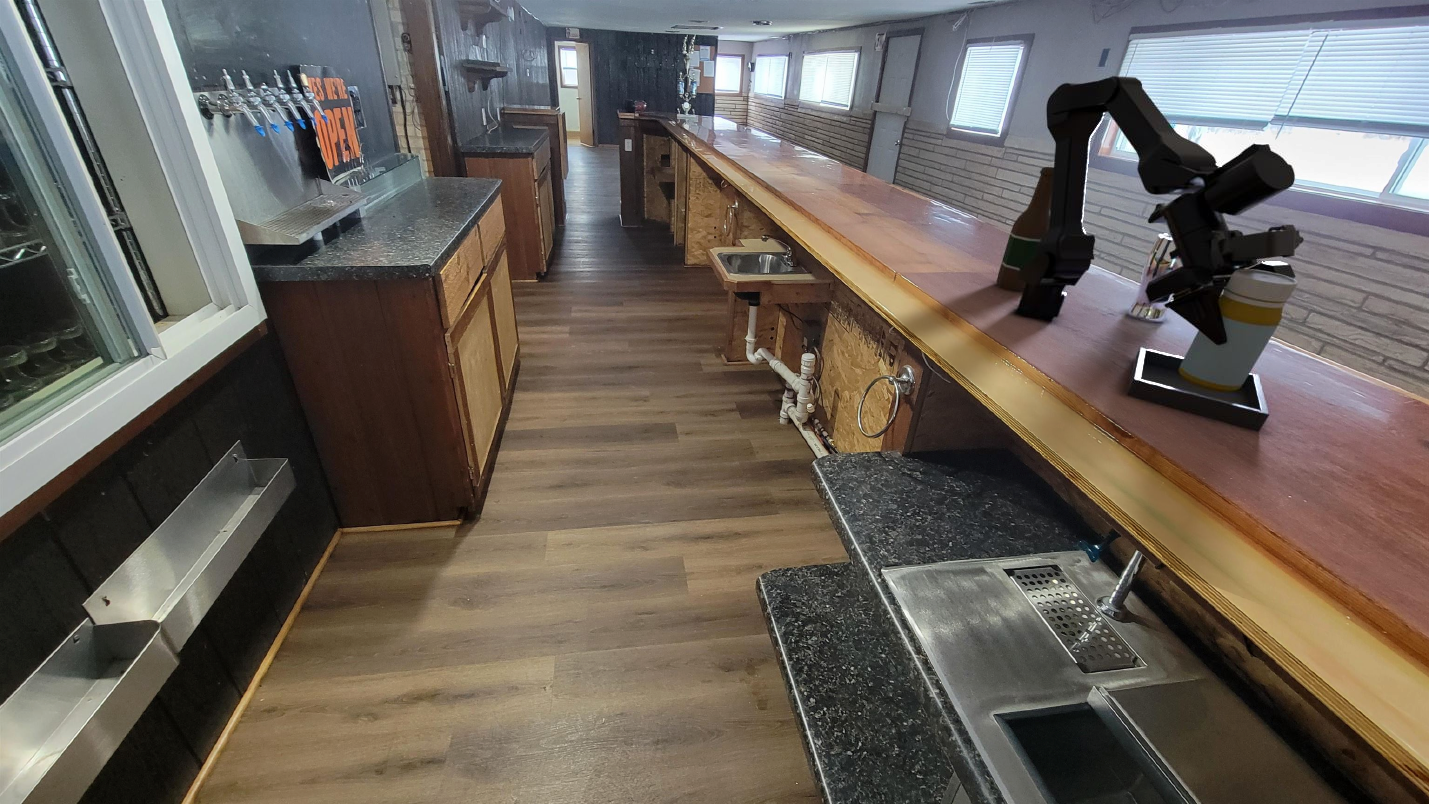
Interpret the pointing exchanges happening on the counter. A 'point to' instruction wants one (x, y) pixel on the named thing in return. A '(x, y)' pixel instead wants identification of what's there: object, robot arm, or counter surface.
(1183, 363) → the bottle
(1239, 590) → the counter surface
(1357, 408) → the counter surface
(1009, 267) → the beer bottle
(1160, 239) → the beer glass
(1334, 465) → the counter surface
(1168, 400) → the tray
